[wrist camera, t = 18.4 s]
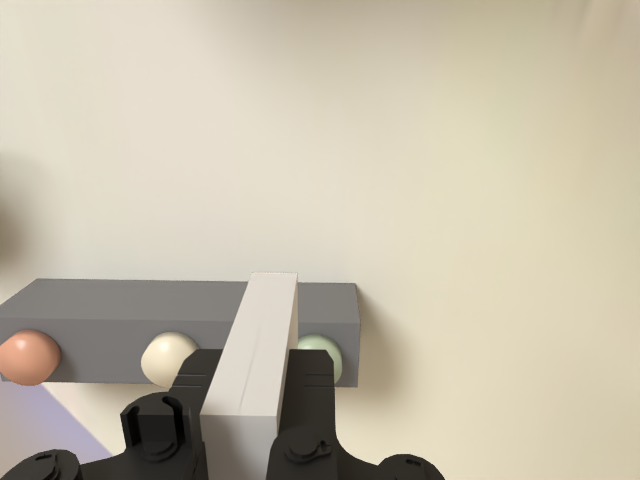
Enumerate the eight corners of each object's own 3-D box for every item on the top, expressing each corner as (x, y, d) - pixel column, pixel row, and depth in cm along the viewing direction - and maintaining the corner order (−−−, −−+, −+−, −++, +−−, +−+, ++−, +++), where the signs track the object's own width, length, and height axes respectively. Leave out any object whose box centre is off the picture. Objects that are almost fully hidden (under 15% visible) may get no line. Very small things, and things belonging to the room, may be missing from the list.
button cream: (206, 316, 43) (192, 343, 39) (210, 358, 45) (197, 388, 40) (156, 315, 43) (137, 342, 39) (162, 357, 45) (144, 387, 40)
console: (355, 283, 47) (360, 323, 40) (352, 339, 50) (357, 387, 42) (37, 278, 48) (-17, 317, 40) (50, 334, 50) (2, 381, 43)
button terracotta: (72, 314, 43) (43, 341, 39) (81, 355, 45) (54, 386, 40) (22, 313, 43) (-12, 340, 39) (33, 355, 45) (2, 385, 41)
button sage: (341, 318, 43) (342, 346, 38) (340, 360, 44) (341, 391, 40) (291, 317, 43) (287, 345, 39) (291, 359, 45) (288, 390, 40)
